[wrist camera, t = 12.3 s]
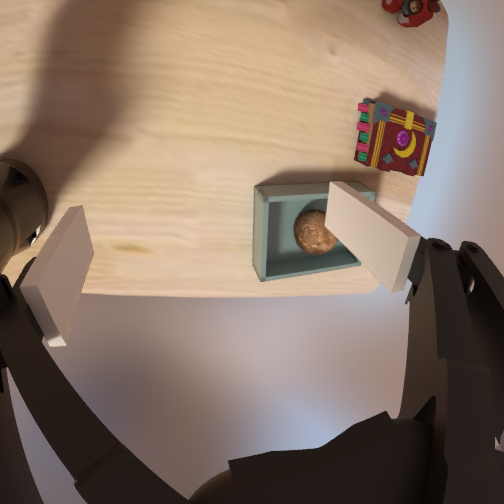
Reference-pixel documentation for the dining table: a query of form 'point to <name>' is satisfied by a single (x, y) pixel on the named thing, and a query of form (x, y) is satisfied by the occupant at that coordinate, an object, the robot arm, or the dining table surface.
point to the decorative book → (393, 138)
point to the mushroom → (313, 232)
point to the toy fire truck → (412, 10)
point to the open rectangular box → (282, 235)
